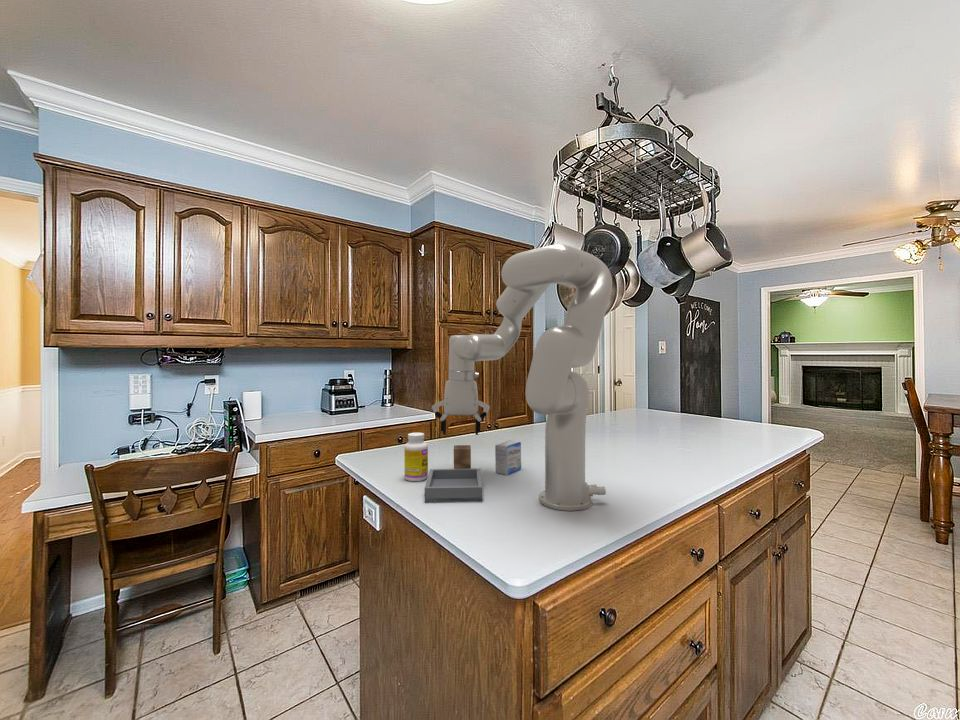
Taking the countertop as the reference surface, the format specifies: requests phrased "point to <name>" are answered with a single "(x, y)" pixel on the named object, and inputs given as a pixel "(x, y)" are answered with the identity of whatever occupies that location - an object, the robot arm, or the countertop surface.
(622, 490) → the countertop surface
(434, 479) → the tray
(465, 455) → the walnut block
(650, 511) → the countertop surface
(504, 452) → the medicine box
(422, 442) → the supplement bottle
